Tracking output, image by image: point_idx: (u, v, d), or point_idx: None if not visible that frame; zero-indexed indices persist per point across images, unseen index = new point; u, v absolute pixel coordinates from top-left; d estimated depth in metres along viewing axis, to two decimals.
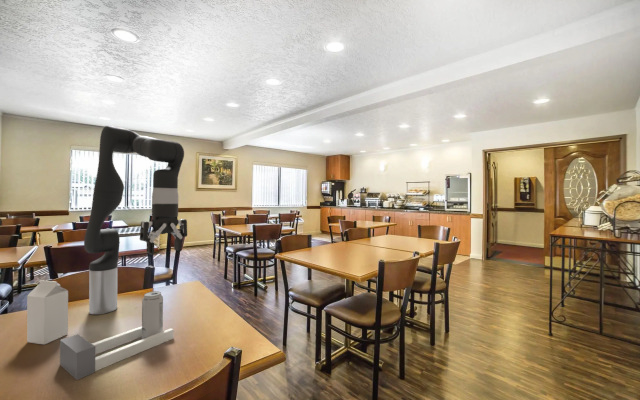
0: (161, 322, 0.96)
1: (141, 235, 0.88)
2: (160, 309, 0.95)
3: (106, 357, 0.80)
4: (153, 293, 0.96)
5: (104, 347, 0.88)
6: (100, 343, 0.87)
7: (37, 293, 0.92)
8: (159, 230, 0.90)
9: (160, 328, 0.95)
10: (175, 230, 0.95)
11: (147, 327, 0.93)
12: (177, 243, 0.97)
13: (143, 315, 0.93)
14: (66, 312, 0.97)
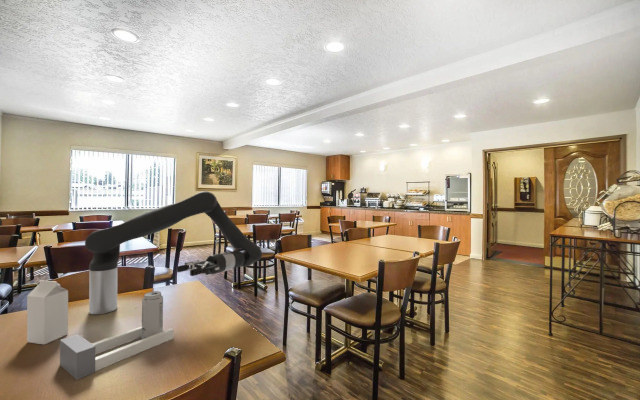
0: (161, 322, 0.96)
1: (210, 268, 1.06)
2: (160, 309, 0.95)
3: (106, 357, 0.80)
4: (153, 293, 0.96)
5: (104, 347, 0.88)
6: (100, 343, 0.87)
7: (37, 293, 0.92)
8: None
9: (160, 328, 0.95)
10: None
11: (147, 327, 0.93)
12: (183, 269, 1.09)
13: (143, 315, 0.93)
14: (66, 312, 0.97)
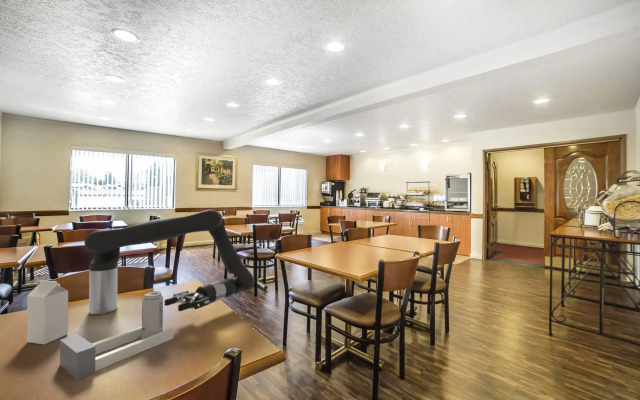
0: (161, 322, 0.96)
1: None
2: (160, 309, 0.95)
3: (106, 357, 0.80)
4: (153, 293, 0.96)
5: (104, 347, 0.88)
6: (100, 343, 0.87)
7: (37, 293, 0.92)
8: None
9: (160, 328, 0.95)
10: None
11: (147, 327, 0.93)
12: (171, 302, 1.05)
13: (143, 315, 0.93)
14: (66, 312, 0.97)
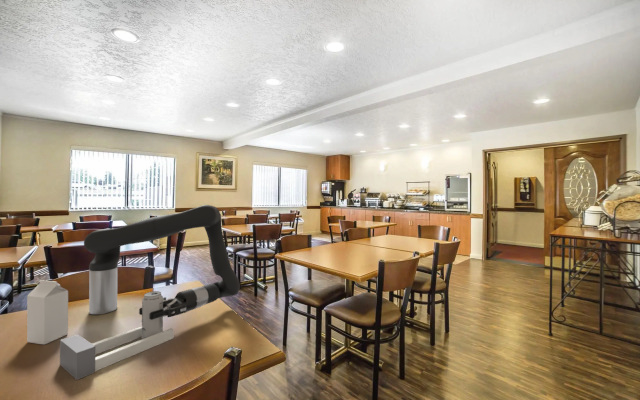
0: (161, 322, 0.96)
1: (173, 309, 0.95)
2: None
3: (106, 357, 0.80)
4: (153, 293, 0.96)
5: (104, 347, 0.88)
6: (100, 343, 0.87)
7: (37, 293, 0.92)
8: None
9: (160, 328, 0.95)
10: None
11: (147, 327, 0.93)
12: None
13: (143, 315, 0.93)
14: (66, 312, 0.97)
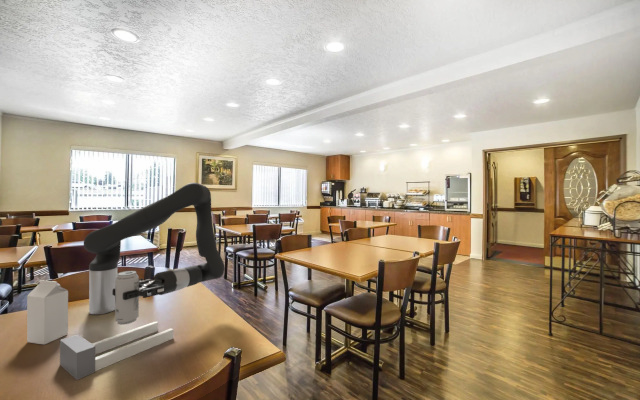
0: (136, 303, 0.89)
1: (149, 290, 0.89)
2: None
3: (106, 357, 0.80)
4: (128, 272, 0.90)
5: (104, 347, 0.88)
6: (100, 343, 0.87)
7: (37, 293, 0.92)
8: None
9: (135, 310, 0.89)
10: None
11: (121, 308, 0.86)
12: None
13: (116, 295, 0.86)
14: (66, 312, 0.97)
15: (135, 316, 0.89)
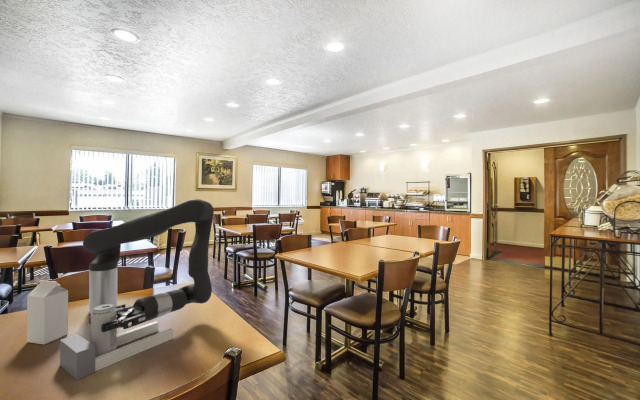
0: (113, 339, 0.84)
1: (130, 320, 0.84)
2: None
3: (106, 357, 0.80)
4: (105, 306, 0.85)
5: None
6: None
7: (37, 293, 0.92)
8: None
9: (112, 346, 0.84)
10: None
11: (96, 345, 0.81)
12: None
13: (91, 332, 0.81)
14: (66, 312, 0.97)
15: None
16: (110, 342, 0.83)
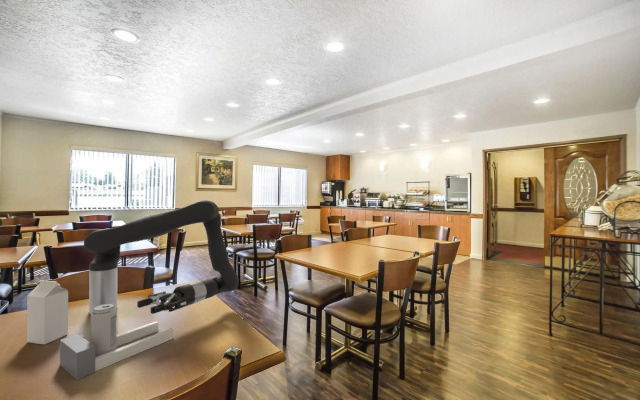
0: (113, 339, 0.84)
1: None
2: (112, 324, 0.84)
3: (106, 357, 0.80)
4: (105, 306, 0.85)
5: None
6: None
7: (37, 293, 0.92)
8: None
9: (112, 346, 0.84)
10: None
11: (96, 345, 0.81)
12: (145, 304, 0.98)
13: (91, 331, 0.82)
14: (66, 312, 0.97)
15: None
16: (110, 342, 0.83)
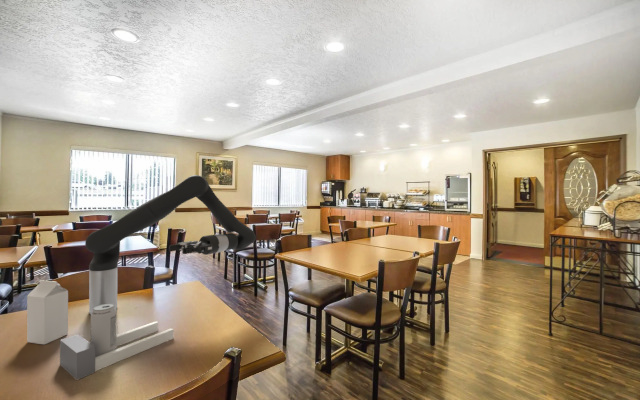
0: (113, 339, 0.84)
1: (202, 247, 1.06)
2: (112, 324, 0.84)
3: (106, 357, 0.80)
4: (105, 306, 0.85)
5: None
6: None
7: (37, 293, 0.92)
8: None
9: (112, 346, 0.84)
10: None
11: (96, 345, 0.81)
12: (176, 249, 1.08)
13: (91, 331, 0.82)
14: (66, 312, 0.97)
15: None
16: (110, 342, 0.83)
